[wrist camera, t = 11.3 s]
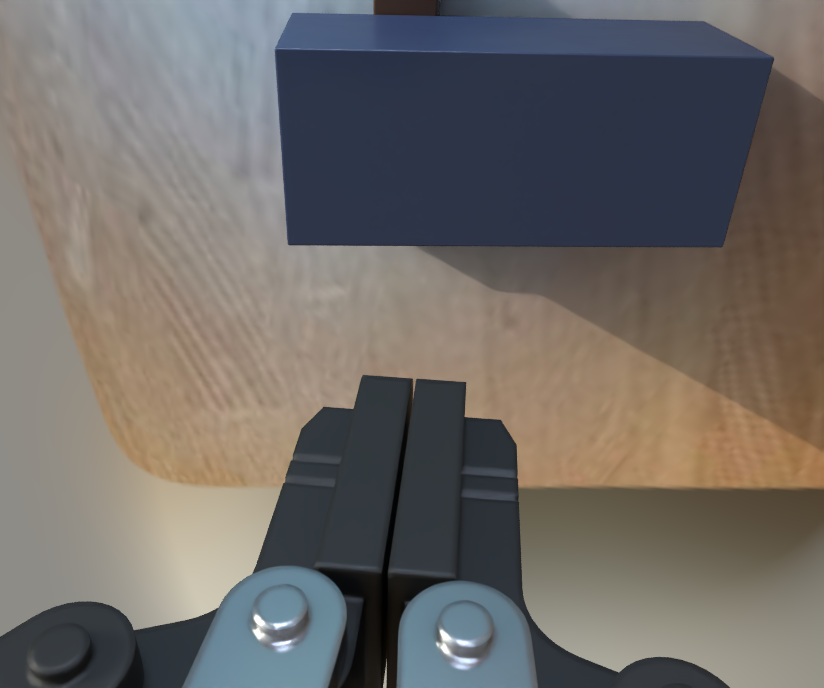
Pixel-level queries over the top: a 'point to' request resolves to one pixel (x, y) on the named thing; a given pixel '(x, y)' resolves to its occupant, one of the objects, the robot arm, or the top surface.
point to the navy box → (513, 130)
